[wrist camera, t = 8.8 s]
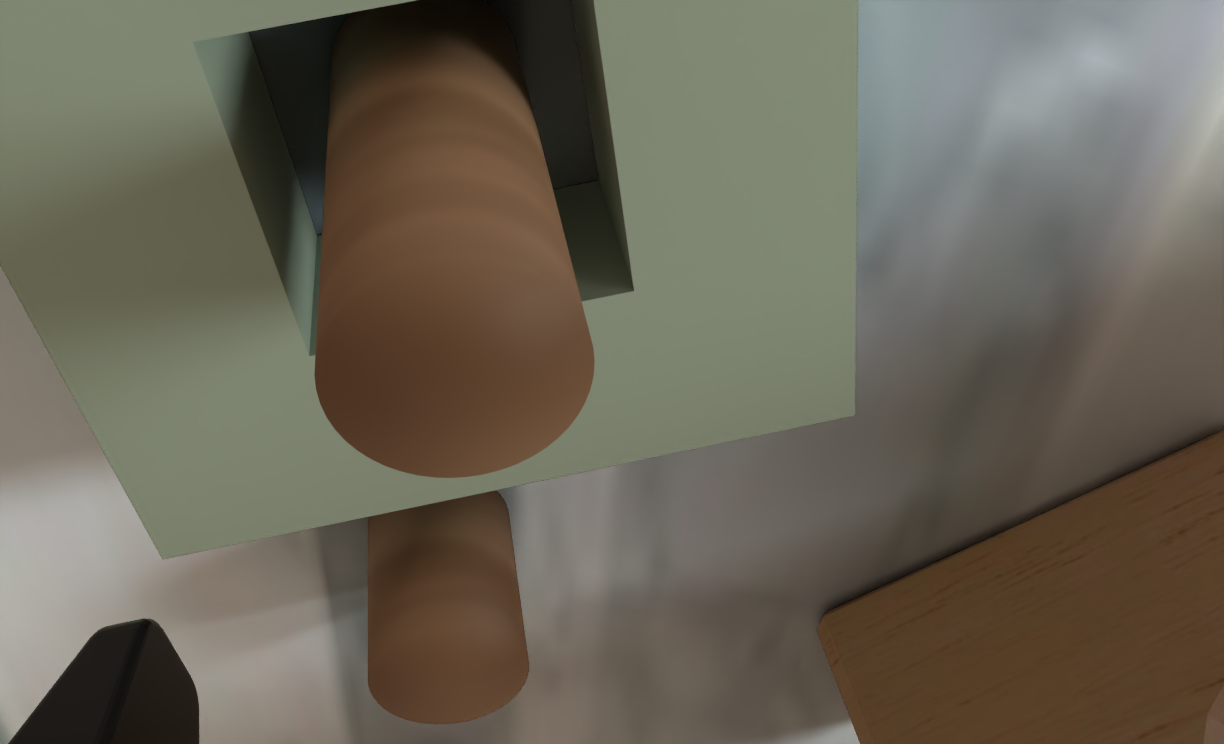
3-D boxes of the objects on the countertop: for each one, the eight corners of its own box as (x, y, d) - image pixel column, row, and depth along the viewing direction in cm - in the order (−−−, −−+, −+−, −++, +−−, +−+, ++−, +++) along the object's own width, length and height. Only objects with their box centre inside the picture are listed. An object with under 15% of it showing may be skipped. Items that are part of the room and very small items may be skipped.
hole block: (797, 301, 23) (855, 415, 20) (186, 425, 22) (162, 559, 20) (773, -434, 15) (861, -409, 13) (-148, -276, 15) (-264, -215, 12)
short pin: (520, 556, 26) (540, 704, 23) (387, 584, 26) (390, 737, 23) (494, 459, 24) (513, 607, 21) (351, 489, 24) (349, 642, 21)
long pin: (533, 137, 20) (611, 447, 14) (359, 171, 20) (356, 500, 13) (501, -37, 18) (573, 230, 12) (307, -1, 18) (276, 290, 12)
